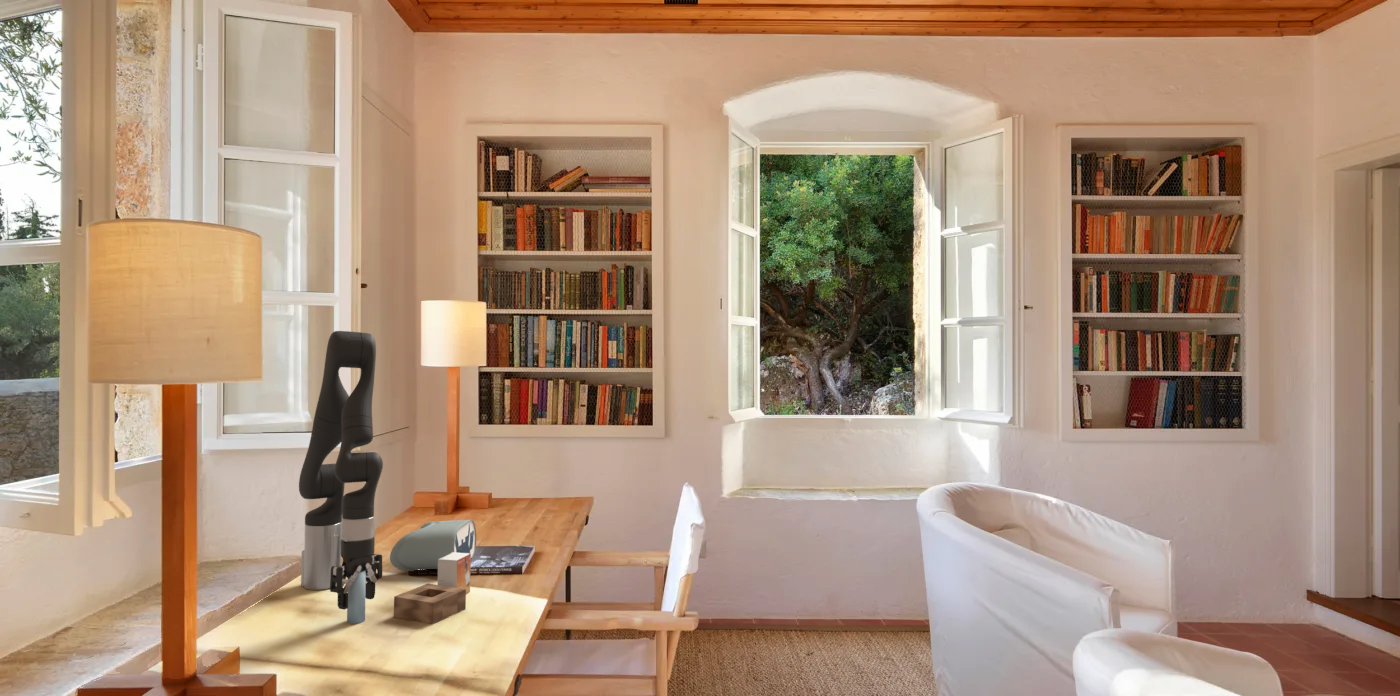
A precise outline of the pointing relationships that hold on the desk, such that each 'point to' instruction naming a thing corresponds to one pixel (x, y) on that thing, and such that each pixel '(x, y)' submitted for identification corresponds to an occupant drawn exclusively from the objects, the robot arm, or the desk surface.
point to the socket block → (429, 603)
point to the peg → (357, 599)
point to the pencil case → (433, 544)
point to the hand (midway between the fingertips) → (356, 603)
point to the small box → (455, 571)
